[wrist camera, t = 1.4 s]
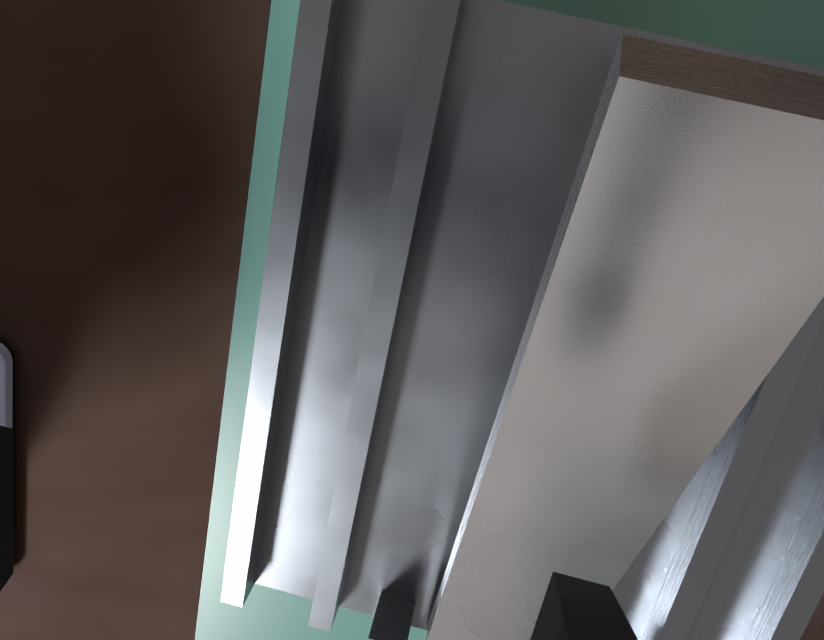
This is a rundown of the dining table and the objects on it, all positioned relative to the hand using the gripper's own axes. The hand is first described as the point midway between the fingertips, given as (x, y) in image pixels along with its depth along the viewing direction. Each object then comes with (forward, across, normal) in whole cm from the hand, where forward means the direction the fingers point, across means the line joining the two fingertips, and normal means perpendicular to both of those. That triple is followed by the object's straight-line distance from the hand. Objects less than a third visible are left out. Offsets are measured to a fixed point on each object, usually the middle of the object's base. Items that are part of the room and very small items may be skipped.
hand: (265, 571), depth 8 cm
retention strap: (+4, -3, 0) cm, 5 cm away
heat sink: (+10, -4, -1) cm, 10 cm away
